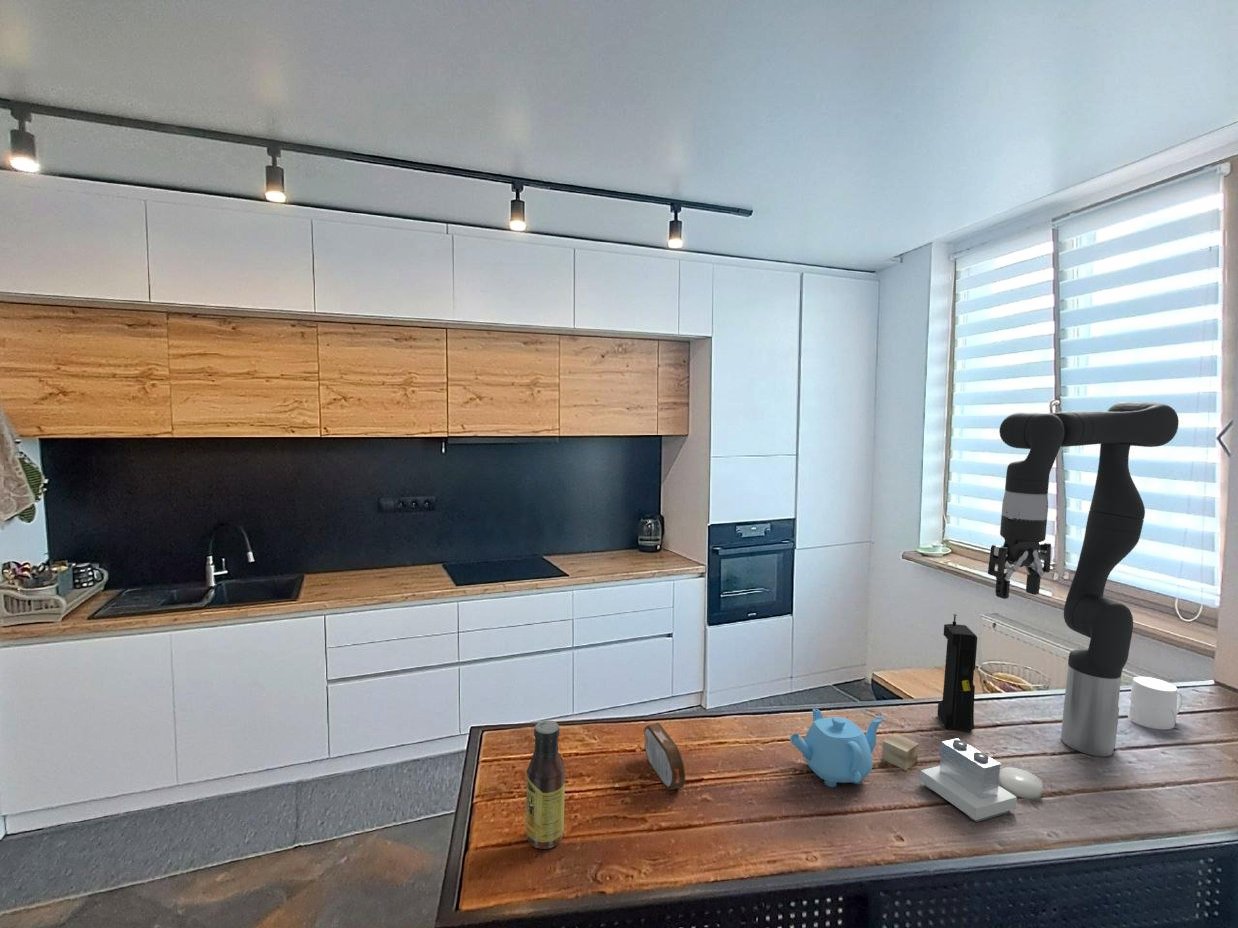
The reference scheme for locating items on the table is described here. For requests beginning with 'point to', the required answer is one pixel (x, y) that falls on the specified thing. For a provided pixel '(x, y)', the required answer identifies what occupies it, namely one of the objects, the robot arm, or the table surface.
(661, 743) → the tin
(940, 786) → the stand
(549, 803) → the sauce bottle
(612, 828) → the table surface
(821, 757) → the teapot
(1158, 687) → the mug
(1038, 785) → the glossy white pebble
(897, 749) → the oak block
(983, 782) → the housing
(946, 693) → the portable radio
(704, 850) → the table surface
